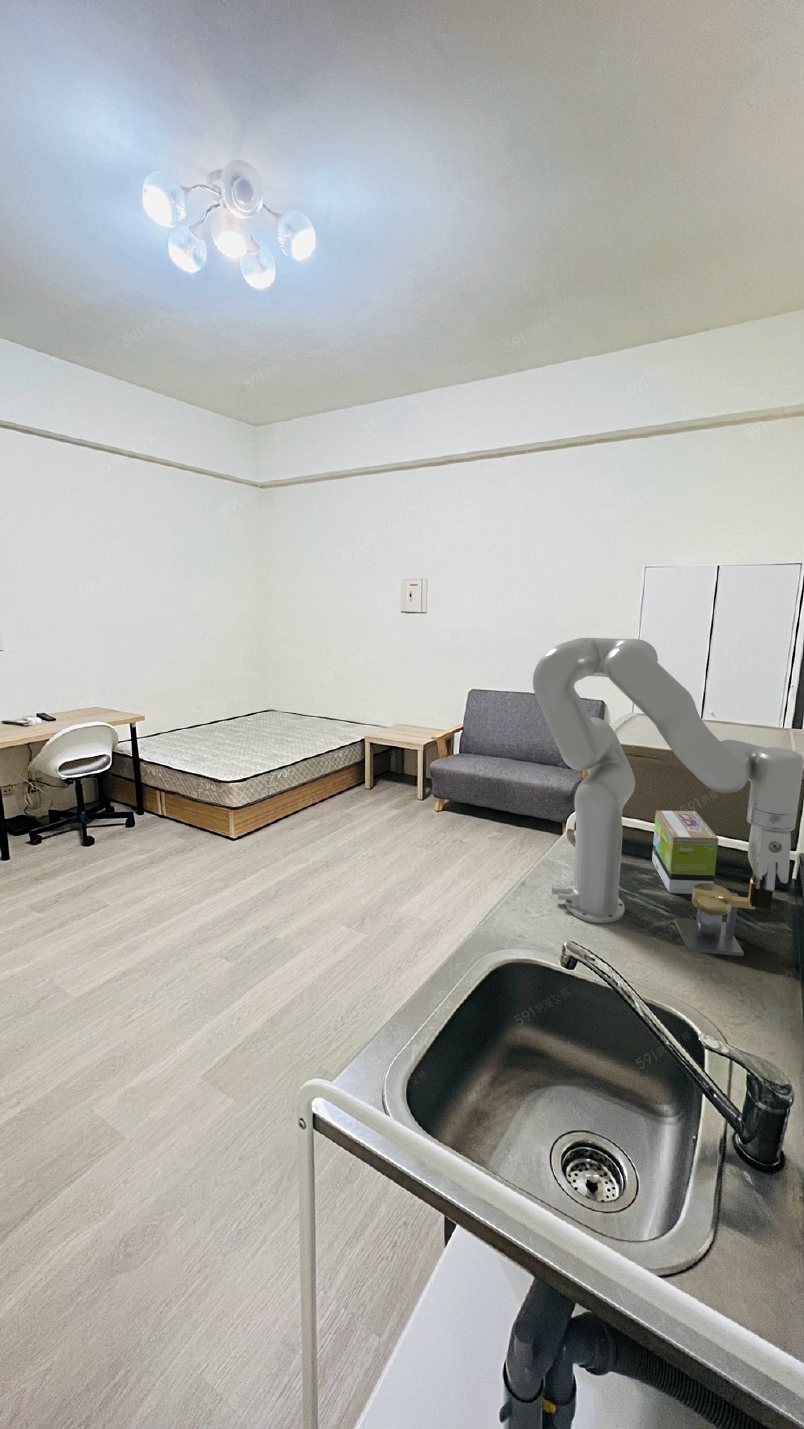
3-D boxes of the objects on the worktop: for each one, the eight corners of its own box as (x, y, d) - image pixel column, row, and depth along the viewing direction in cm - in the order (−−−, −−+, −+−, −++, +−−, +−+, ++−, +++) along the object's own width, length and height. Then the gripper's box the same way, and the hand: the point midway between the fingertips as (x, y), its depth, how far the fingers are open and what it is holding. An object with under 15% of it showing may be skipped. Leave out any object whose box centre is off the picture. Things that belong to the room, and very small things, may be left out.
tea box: (650, 862, 149) (654, 808, 145) (691, 864, 147) (697, 809, 144) (667, 894, 134) (673, 835, 131) (714, 896, 133) (721, 837, 129)
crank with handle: (694, 911, 114) (698, 881, 113) (689, 893, 121) (692, 864, 119) (765, 921, 111) (769, 890, 109) (755, 901, 117) (759, 871, 115)
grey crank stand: (687, 951, 114) (692, 909, 112) (674, 921, 124) (678, 882, 122) (744, 956, 112) (750, 913, 110) (726, 925, 122) (731, 886, 120)
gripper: (807, 835, 98) (793, 931, 102) (784, 802, 111) (773, 888, 116) (756, 830, 100) (744, 924, 105) (740, 798, 114) (730, 882, 118)
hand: (759, 905), depth 110 cm, fingers closed
